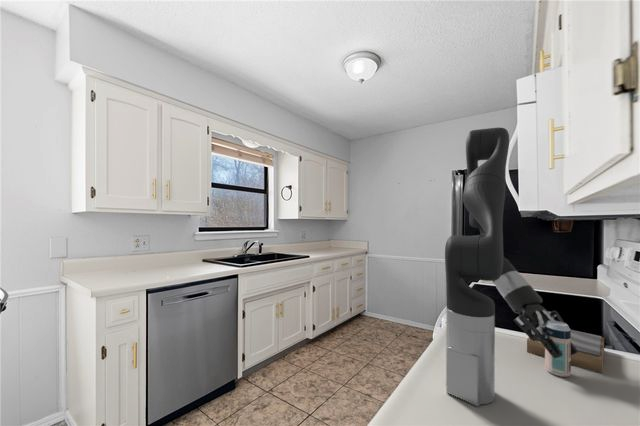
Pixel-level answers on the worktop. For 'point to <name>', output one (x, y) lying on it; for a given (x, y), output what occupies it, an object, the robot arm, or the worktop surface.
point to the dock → (587, 349)
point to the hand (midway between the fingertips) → (566, 354)
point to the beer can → (562, 339)
